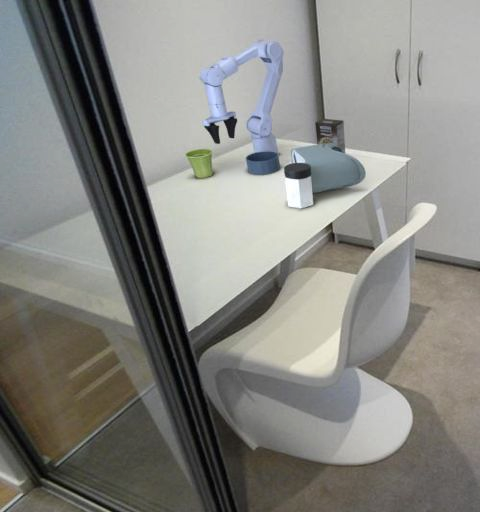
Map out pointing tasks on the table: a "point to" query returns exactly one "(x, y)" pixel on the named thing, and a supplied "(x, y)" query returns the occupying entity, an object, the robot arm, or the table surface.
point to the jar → (298, 185)
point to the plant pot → (200, 162)
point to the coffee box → (330, 132)
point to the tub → (263, 162)
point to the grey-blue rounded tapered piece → (329, 166)
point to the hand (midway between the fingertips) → (224, 140)
